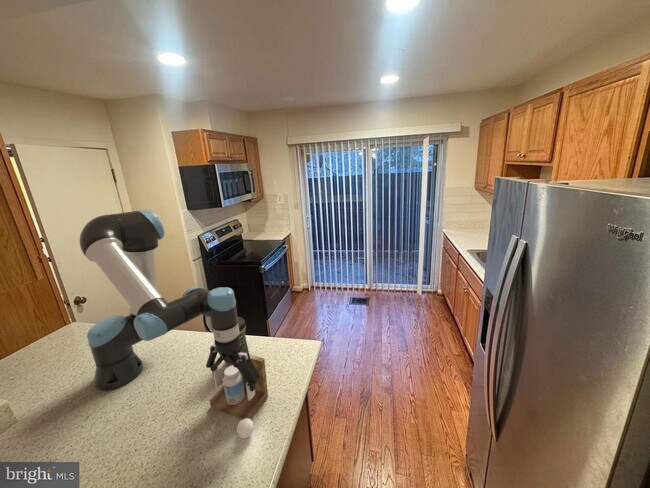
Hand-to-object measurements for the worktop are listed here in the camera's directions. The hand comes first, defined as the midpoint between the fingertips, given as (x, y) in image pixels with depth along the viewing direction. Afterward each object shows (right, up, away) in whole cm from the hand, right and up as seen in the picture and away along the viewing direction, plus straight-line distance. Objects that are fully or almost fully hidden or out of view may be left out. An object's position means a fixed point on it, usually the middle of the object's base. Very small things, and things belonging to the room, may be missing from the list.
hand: (235, 391), depth 87 cm
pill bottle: (0, -3, +1) cm, 3 cm away
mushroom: (+6, -9, -8) cm, 14 cm away
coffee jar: (-7, 0, +23) cm, 24 cm away
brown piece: (+1, -5, +3) cm, 6 cm away
